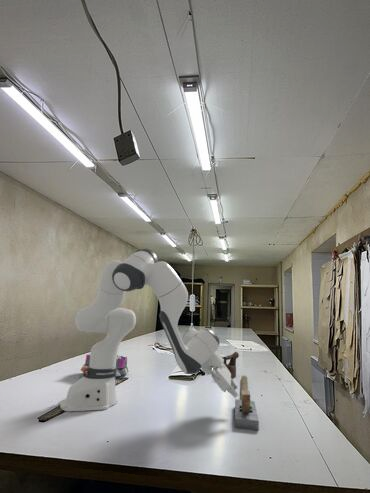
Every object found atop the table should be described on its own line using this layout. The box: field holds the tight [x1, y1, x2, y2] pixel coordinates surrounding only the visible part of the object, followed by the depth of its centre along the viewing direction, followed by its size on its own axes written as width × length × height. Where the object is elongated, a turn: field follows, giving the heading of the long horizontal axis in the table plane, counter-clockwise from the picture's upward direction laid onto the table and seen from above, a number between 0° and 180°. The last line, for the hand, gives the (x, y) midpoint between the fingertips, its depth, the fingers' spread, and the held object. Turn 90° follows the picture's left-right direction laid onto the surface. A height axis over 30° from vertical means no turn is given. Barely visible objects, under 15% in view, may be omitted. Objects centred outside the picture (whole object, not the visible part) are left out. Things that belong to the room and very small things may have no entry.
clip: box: [242, 390, 251, 413], centre depth 116 cm, size 3×6×9 cm, turn 171°
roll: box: [240, 375, 249, 400], centre depth 151 cm, size 4×43×3 cm, turn 169°
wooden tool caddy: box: [223, 351, 240, 380], centre depth 181 cm, size 8×16×13 cm, turn 143°
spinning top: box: [82, 353, 129, 377], centre depth 170 cm, size 27×28×15 cm
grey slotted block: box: [234, 399, 260, 431], centre depth 115 cm, size 8×22×3 cm, turn 171°
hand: (236, 392), depth 118 cm, fingers open, 8 cm apart
